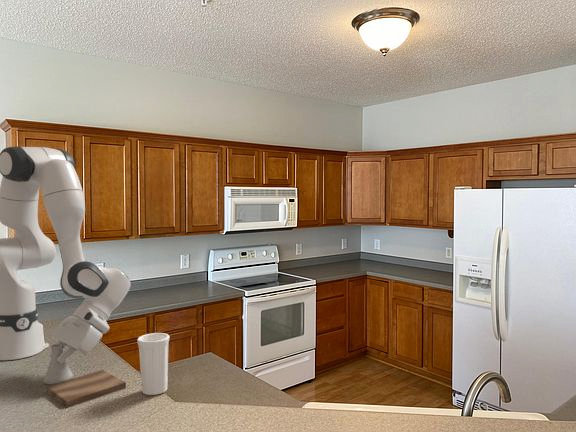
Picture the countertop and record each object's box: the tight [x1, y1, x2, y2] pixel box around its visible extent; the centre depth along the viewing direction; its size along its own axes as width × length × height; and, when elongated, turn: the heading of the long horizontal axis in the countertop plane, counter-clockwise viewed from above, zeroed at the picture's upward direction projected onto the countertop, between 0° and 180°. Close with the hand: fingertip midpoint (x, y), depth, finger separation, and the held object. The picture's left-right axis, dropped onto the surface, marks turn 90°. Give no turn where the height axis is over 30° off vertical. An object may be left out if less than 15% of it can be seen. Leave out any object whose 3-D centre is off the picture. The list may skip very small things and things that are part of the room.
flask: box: [42, 343, 74, 386], centre depth 124 cm, size 7×7×10 cm
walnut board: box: [46, 369, 127, 408], centre depth 118 cm, size 14×15×2 cm
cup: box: [136, 332, 170, 396], centre depth 116 cm, size 8×8×14 cm
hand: (55, 360), depth 124 cm, fingers open, 3 cm apart
